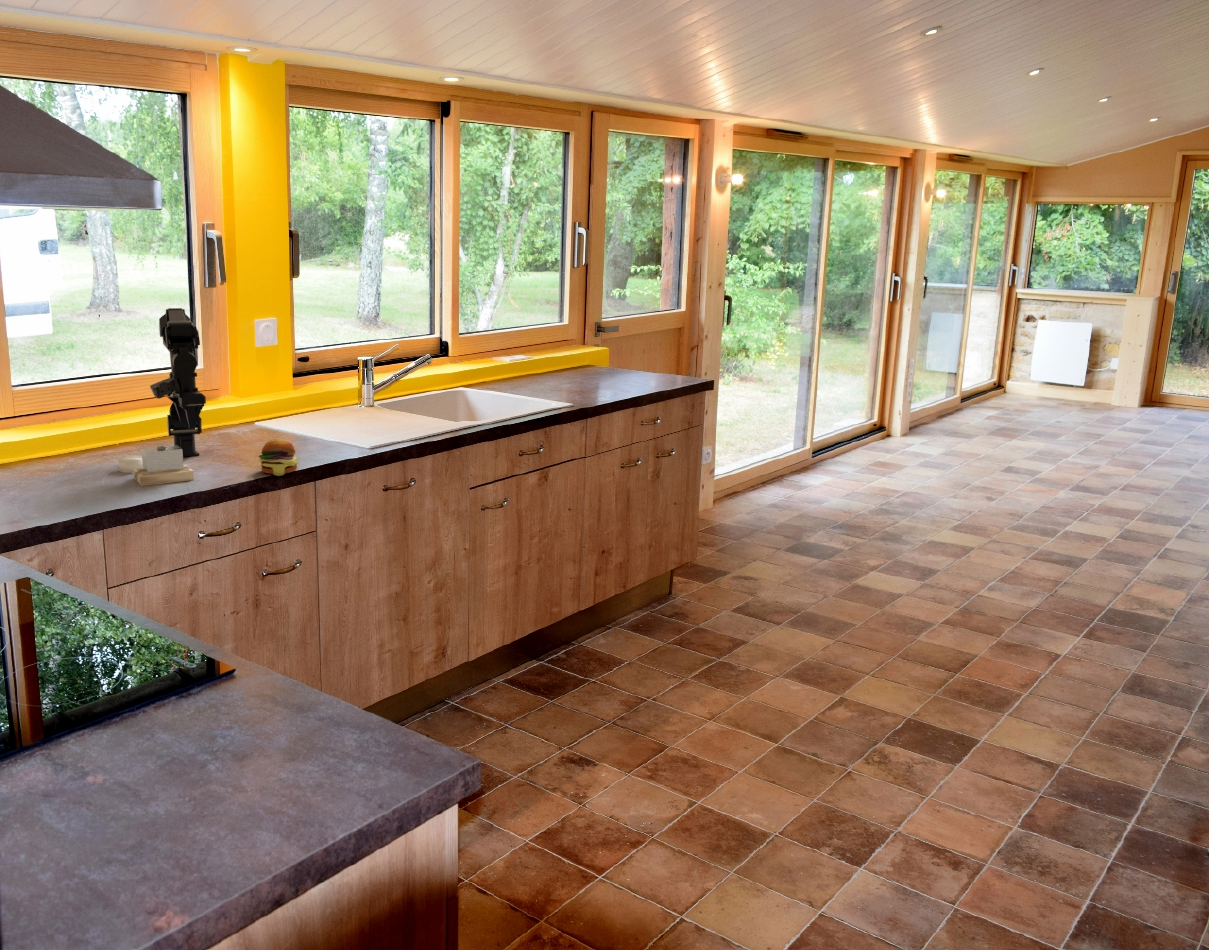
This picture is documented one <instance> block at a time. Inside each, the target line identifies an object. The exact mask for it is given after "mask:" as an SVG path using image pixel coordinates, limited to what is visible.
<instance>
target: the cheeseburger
mask: <svg viewBox="0 0 1209 950" xmlns="http://www.w3.org/2000/svg"><path fill="white" fill-rule="evenodd" d="M295 454H296V449H295V446H294V445H293V444H292V443H291V442H289V441H286V440H283V439H272V440H271V439H270V440H268V441H267V442H265V443H264V445H263V447H262V449H261V454H260V455H258V458H259V460H258V461H259V463H260V467H261V472H262V473H264V474H265V473H266V474H270V475H273V476H276V477H280V476H284V475H286V474H288V473H292V472H295V471H297V467H298V466H297V465H298V461H297V460H298V458H297V457H296V455H295Z"/></svg>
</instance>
